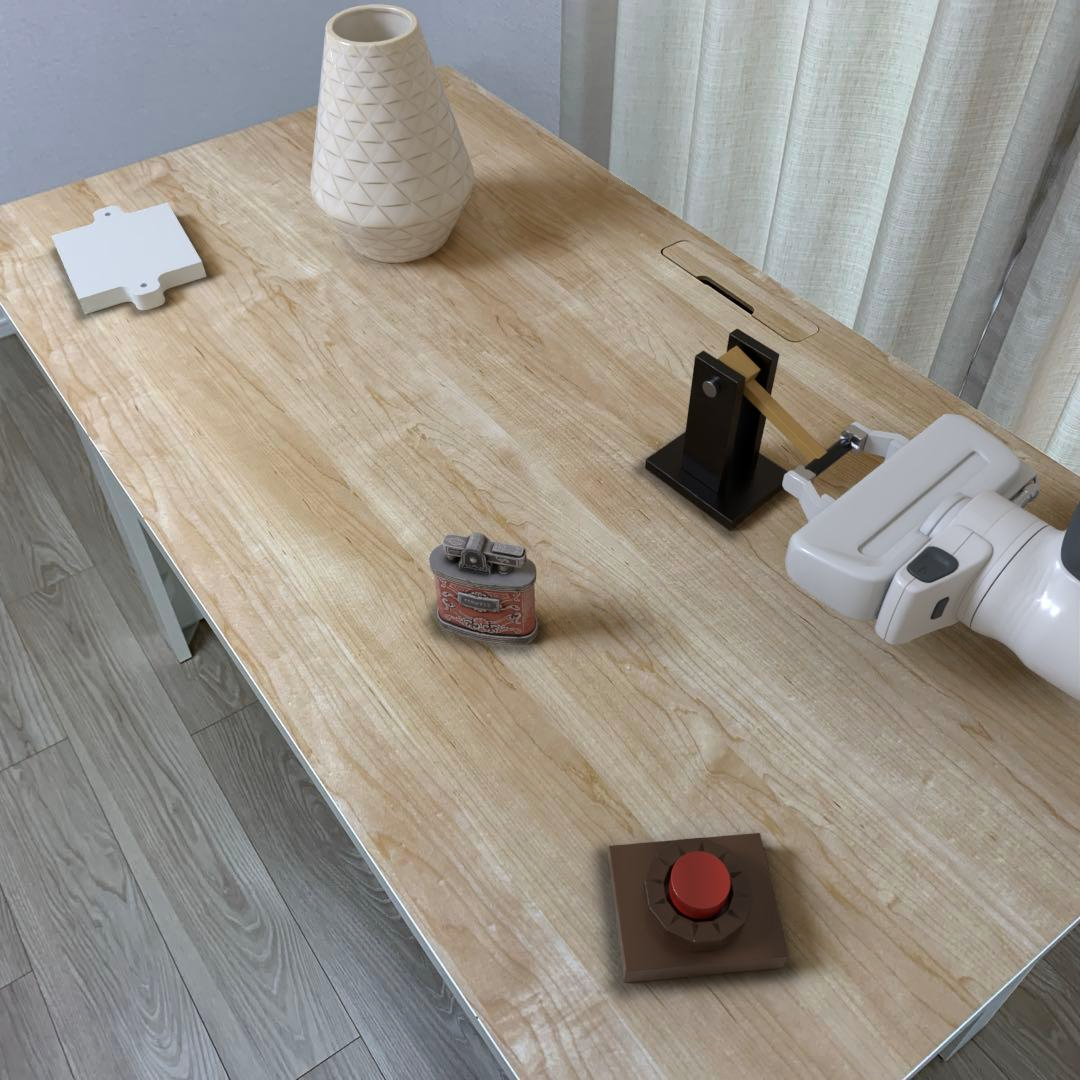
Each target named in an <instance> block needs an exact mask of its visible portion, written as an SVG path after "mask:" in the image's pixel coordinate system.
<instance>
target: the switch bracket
mask: <svg viewBox="0 0 1080 1080" xmlns="http://www.w3.org/2000/svg"><path fill="white" fill-rule="evenodd" d="M735 346H738V347H739V348H740V349H741V350H742V351H743V352H744V353H745V354H746V355H747V356H748V357H749V358H750V359H751V360H752V361H753V362H754V363H755V364H756V365H757V366H758V367H759V368H760V369H761V370H760V372H759V373H758V375H757V376H756V378H755V380H756V381H757V382H758V383H759V384H760V385H761V386H762V387H763V388H764V389H765V390H766V391H767V392H768V393H769V394H770V395H771V396H772V393H773V387H774V384H775V378H776V373H777V369H778V364H779V358H780V353H779V352H777V351H775V350H774V349H772V348H770V347H768V346H767V345H766V344H764V343H762V342H761V341H759V340H757V338H754V337H752V336H751V335H749V334H748V333H746V332H744V331H742V330H741V329H739V328H735V329H734V330H732V331H730V332H729V333H728V340H727V345H726V351H725V353H726V352H728V351H729V350H731V349H732V348H734V347H735ZM691 379H692V380H691V385H690V393H689V400H688V409H687V416H686V423H685V431H684V432H683V433H681V434H680V435H679V436H676V437H675V438H674V439H673V440H671V441H669V442H668V443H666V444H665V445H664V446H662V447H661V448H660V449H658V450H657V451H655V452H653V453H652V454H651V455H650V456H648V457H647V458H646V459H645V464H644V469H645V470H647V472H649V473H650V474H652V475H654V476H655V477H656V478H657V479H659V480H660V481H661V482H662V483H664V484H666V485H667V486H668V487H669V488H671V489H673V490H674V491H675V492H676V493H678V494H679V495H681V497H683V498H684V499H685V500H687V501H688V502H690V503H691V504H693V506H695V507H696V508H698V509H699V510H701V511H702V512H703V513H704V514H706V515H707V516H708V517H710V518H711V519H713V520H714V521H716V522H717V524H719V525H720V526H722V527H724V528H725V529H726V530H728V531H729V532H730V531H732V530H733V529H734V528H735V527H737V526H738V525H740V524H741V523H742V522H743V521H745V520H746V519H747V518H749V517H750V516H751V515H752V514H754V513H755V512H756V511H757V510H759V509H760V508H761V507H762V506H764V505H765V504H767V503H768V502H769V501H771V500H772V499H773V498H774V497H776V496H777V495H778V494H780V493H781V492H782V491H784V490H785V489H784V488H783V486H782V483H783V479H784V475H785V474H786V473H787V472H788V471H787V470H786V469H785V468H783V467H782V466H780V465H779V464H777V463H776V462H774V461H773V460H771V459H770V458H768V457H767V456H766V455H764V454H763V453H761V452H760V451H761V446H762V442H763V441H762V440H763V436H764V431H765V426H766V423H767V422H766V421H767V418H766V417H765V416H764V415H763V414H762V413H761V412H760V411H759V410H758V409H757V408H756V407H755V406H754V405H753V404H752V403H751V402H750V401H749V400H748V399H747V397H746V396H745V395H744V394H743V391H744V385H745V380H746V377H744V376H743V375H741V374H740V373H738V372H737V371H735V370H734V369H732V368H730V367H729V366H727V365H726V364H724V363H723V362H721V361H719V360H718V358H716V357H715V356H714V355H712V354H710V353H709V352H707V351H705V350H702V351H700V352H699V353H697V354H696V355H695V356H694V361H693V370H692V378H691Z"/></svg>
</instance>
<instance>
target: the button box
mask: <svg viewBox="0 0 1080 1080" xmlns="http://www.w3.org/2000/svg"><path fill="white" fill-rule="evenodd" d="M695 851H701V852H707V853H709V854H712V855H714V856H715V857H717V858H718V859H719V860H721V861H722V863H723V864H724V865H725V866H726V868H727V870H728V872H729V875H730V881H731V885H730V890H729V894H728V897H727V900H726V903H725V905H724V907H723V908H722V909H721V911H720V912H719V913H717V914H716V915H714V916H712V917H710V918H706V919H695V918H691V917H688V916H686V915H684V914H683V913H682V912H680V911H679V910H678V909H677V908H676V907H675V905H674V904H673V902H672V900H671V898H670V894H669V882H670V877H671V872H672V869H673V866H674V864H675V863H676V861H677V860H678V859H679V858H680V857H682V856H683V855H685V854H687V853H690V852H695ZM607 852H608V853H607V865H608V872H609V881H610V887H611V897H612V903H613V911H614V918H615V919H614V920H615V927H616V934H617V939H618V941H617V942H618V949H619V956H620V964H621V971H622V980H623V983H634V982H645V981H656V980H657V981H658V980H668V979H677V978H689V977H691V978H692V977H701V976H710V975H720V974H733V973H743V972H755V971H766V970H776V969H783V968H784V966H785V964H786V962H787V960H788V958H789V952H788V948H787V944H786V940H785V936H784V930H783V926H782V923H781V918H780V913H779V909H778V905H777V900H776V897H775V891H774V887H773V883H772V878H771V875H770V870H769V867H768V861H767V858H766V853H765V849H764V845H763V840H762V835H761V833H760V832H755V833H754V832H753V833H743V834H741V833H740V834H729V835H719V836H708V837H707V836H706V837H692V838H681V839H673V840H662V841H661V840H660V841H647V842H637V843H627V844H626V843H624V844H615V845H614V844H613V845H609V846H608V850H607Z"/></svg>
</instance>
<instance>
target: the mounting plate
mask: <svg viewBox="0 0 1080 1080" xmlns="http://www.w3.org/2000/svg"><path fill="white" fill-rule="evenodd" d="M92 216H93V219H94V220H93V222H92V223H90V224H87V225H83V226H79V227H76V228H72V229H69V230H66V231H62V232H59V233H56V234H55V233H54V234H51V235H50V237H51V239H52V241H53V244H54V246H55V248H56V251H57V253H58V255H59V258H60V260H61V263H62V265H63V267H64V270H65V272H66V274H67V276H68V278H69V281H70V284H71V285H72V288H73V290H74V292H75V295H76V297H77V299H78V302H79V304H80V307H81V308H82V311H83V314H84V315H88V314H91V313H95V312H97V311H100V310H104V309H107V308H110V307H114V306H116V305H120V304H123V303H133V304H134V306H135V308H136V309H138V310H139V311H149V310H153V309H155V308H159V307H160V306H163V305H164V304H165V302H166V298H165V295H164V294H165V291H167V290H168V289H171V288H175V287H178V286H181V285H185V284H188V283H191V282H194V281H197V280H201V279H204V278H207V273H206V270H205V267H204V264H203V263H204V262H203V261H202V258H201V257H200V256H199V254H198V252H197V251H196V249H195V247H194V245H193V244H192V242H191V240H190V238H189V236H188V235H187V233H186V232H185V230H184V228H183V226H182V224H181V223H180V221H179V219H178V218H177V216H176V214H175V213H174V211H173V209H172V208H171V206H170V204H169V202H164V203H161V204H157V205H153V206H150V207H146V208H143V209H139V210H135V211H133V212H124V211H123V210H122V209H121V207H120V206H117V205H110V206H109V205H108V206H105V207H101V208H98V209H97V210H95V211H94V212H93V213H92Z"/></svg>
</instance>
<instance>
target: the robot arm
mask: <svg viewBox="0 0 1080 1080" xmlns="http://www.w3.org/2000/svg"><path fill="white" fill-rule="evenodd" d="M841 438H845V439H847V440H848V441H849V442H850V443H851V447H852V448H851V450H850V451H849V452H848V453H851V454H852V455H854V456H858V455H860V454H861V453H862V452H864V453H866V454H870V455H875V456H879V457H882V458H884V460H883V462H882V463H881V464H880V465H878V466H877V467H875V468H874V469H873V470H871V472H869V473H868V474H867V475H866V476H865V477H863V478H862V479H860V480H859V481H858V482H857V483H855V484H854V485H853V486H852V487H851V488H849V489H848V490H847V491H846V492H845V493H843V494H842V495H840V496H839V497H838V498H837V499H835V498H834V497H832V496H831V495H829V494H828V493H823V494H822V495H821V496H820V495H819V493H818V492H817V489H816V488H815V486H814V483H815V480H816V478H815V476H816V474H815V473H813V472H812V471H810V470H807V469H805V466H804V465H803V464H800V463H799V464H796V465H795V466H794V467H793V468H791V469H790V470H788V471H787V473H786V474H785V475H784V479H783V483H782V486H783V488H784V489H783V490H784V491H786V492H787V493H789V494H790V495H792V496H793V497H794V498H796V499H797V500H798V502H799V505H800V506H801V509H802V511H803V513H804V515H805V517H806V520H807V523H806V524H805V525H803V526H802V527H801V528H799V529H798V530H797V531H795V532H794V533H793V534H792V535H791V536H790V539H789V541H788V545H787V549H786V553H785V557H784V566H785V569H786V572H787V576H788V577H789V578H790V580H791V581H792V582H793V583H794V584H796V585H797V586H798V587H800V588H801V589H802V590H803V591H805V592H806V593H808V595H811V596H812V597H814V598H815V599H816V600H818V601H819V602H820V603H822V604H823V605H825V606H827V607H829V609H832V610H833V611H835V612H836V613H839V614H841V615H842V616H843V617H846V618H849V619H851V620H854V621H858V622H872V621H875V620H876V622H875V625H874V632H875V634H876V636H877V637H879V638H880V639H881V640H882V641H884V642H885V643H887V644H888V645H891V646H900V645H903V644H905V643H908V642H911V641H913V640H915V639H918V638H920V637H923V636H925V635H927V634H930V633H933V632H935V631H938V630H940V629H943V628H946V627H950V626H954V625H956V624H958V623H959V622H960V623H961V624H964V625H965V626H966V627H967V628H969V629H970V630H972V631H973V632H975V633H977V634H979V635H982V636H985V637H988V638H991V639H993V640H995V641H997V642H999V643H1000V644H1002V645H1004V646H1005V647H1007V648H1008V650H1010V651H1012V652H1013V653H1014V654H1015V656H1016V657H1017V659H1019V660H1020V661H1021V663H1022V664H1023V665H1024V666H1025V667H1026V668H1027V669H1029V670H1030V671H1032V672H1033V673H1034V674H1036V675H1037V676H1039V677H1040V678H1041V679H1043V680H1045V681H1046V682H1047V683H1049V684H1051V685H1052V686H1054V687H1055V688H1057V689H1059V690H1060V691H1062V692H1063V693H1065V694H1066V695H1068V696H1070V697H1071V698H1072V699H1074V700H1076V701H1078V702H1080V500H1079V501H1078V503H1077V505H1076V507H1075V510H1074V511H1073V514H1072V516H1071V518H1070V521H1069V523H1068V525H1067V528H1066V529H1064V530H1060V529H1057V528H1055V527H1054V526H1052V525H1051V524H1049V523H1047V522H1045V521H1044V520H1042V519H1041V518H1039V517H1037V516H1036V515H1034V514H1032V513H1031V512H1030V511H1028V510H1026V509H1025V507H1026V506H1027V505H1028V504H1029V503H1031V502H1033V501H1034V500H1036V499H1037V497H1038V496H1039V495H1040V494H1041V491H1042V490H1041V486H1040V485H1041V481H1040V477H1039V475H1038V471H1037V470H1036V469H1035V467H1033V466H1032V465H1030V464H1029V463H1027V462H1025V461H1023V460H1021V459H1020V458H1019V456H1018V455H1017V454H1016V453H1015V451H1014V450H1013V449H1011V447H1009V446H1008V445H1007V444H1005V443H1004V442H1003V441H1001V439H999V438H997V437H996V435H993V434H992V433H990V432H989V431H988V430H987V429H985V428H984V427H982V426H980V424H978V423H977V422H975V421H973V420H971V419H970V418H968V417H967V416H965V415H962V414H956V413H944V414H942V415H940V417H938V418H936V420H934V421H933V422H932V423H931V424H929V425H928V426H927V427H926V428H925V429H923V430H922V431H921V432H919V433H918V434H917V435H916V436H914V437H913V438H912V439H909V438H908V437H906V436H904V435H902V434H901V433H896V432H889V431H882V430H876V429H875V430H872V429H870V428H869V427H867V426H866V425H864V424H862V423H860V422H859V421H857V420H856V421H853V422H852V423H850V424H849V425H848V426H847V427H845V428H844V429H843V430H842V431H841V433H840V437H839V439H838V440H840V439H841Z"/></svg>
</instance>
